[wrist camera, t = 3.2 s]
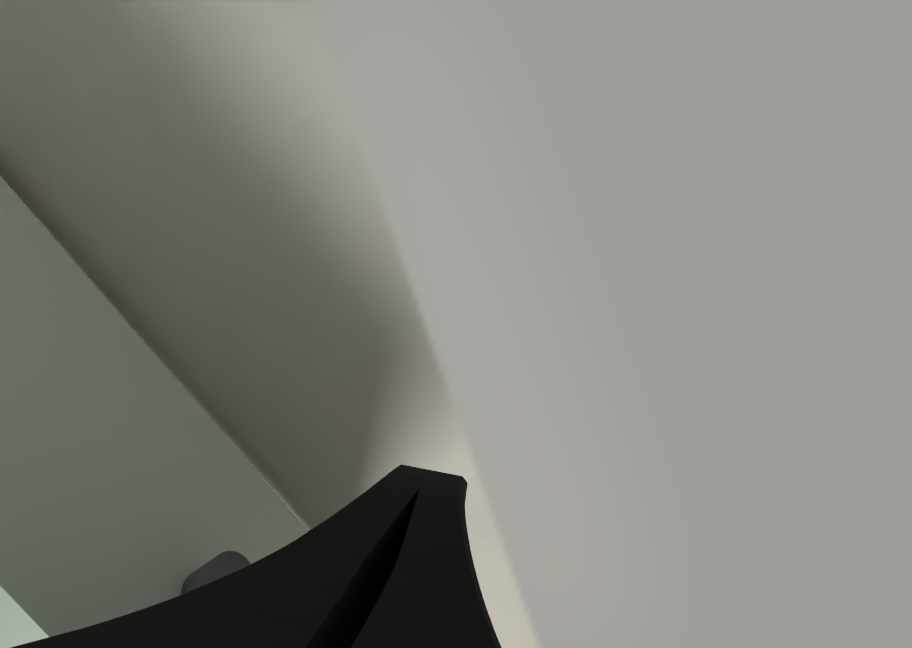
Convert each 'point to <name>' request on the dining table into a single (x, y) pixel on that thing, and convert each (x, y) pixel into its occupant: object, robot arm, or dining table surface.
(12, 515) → the door
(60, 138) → the dining table surface
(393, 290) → the dining table surface
